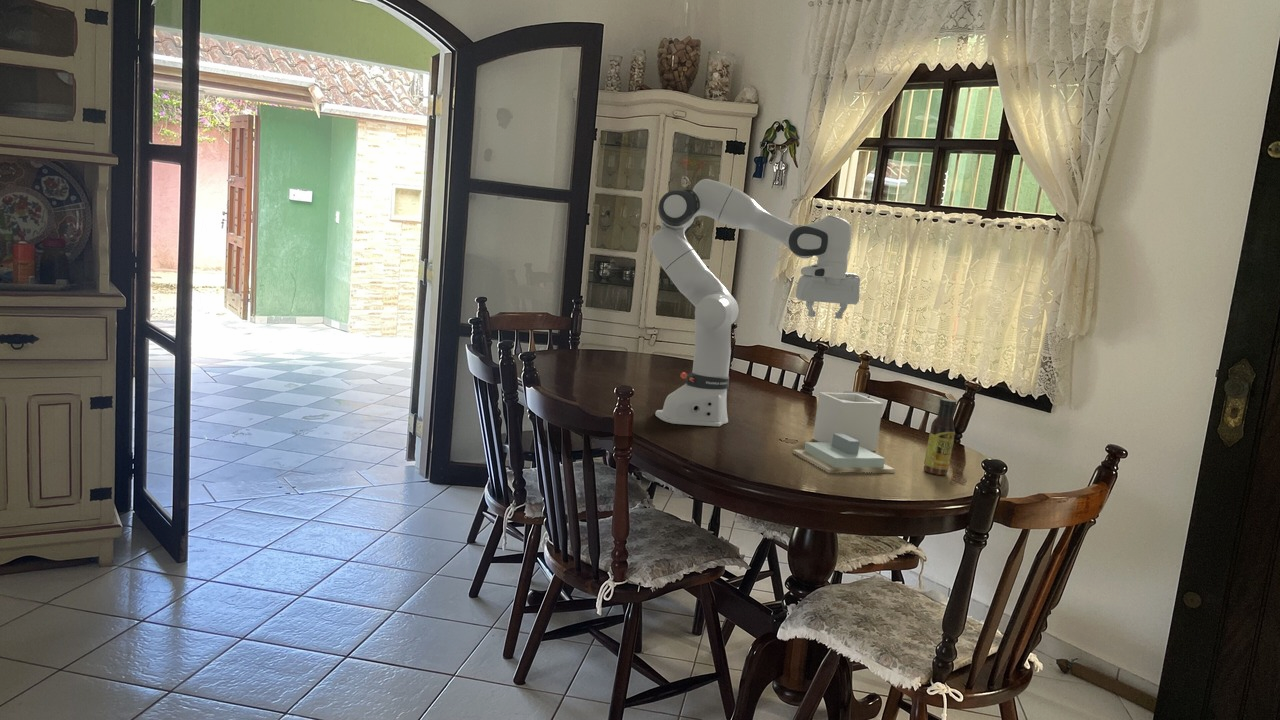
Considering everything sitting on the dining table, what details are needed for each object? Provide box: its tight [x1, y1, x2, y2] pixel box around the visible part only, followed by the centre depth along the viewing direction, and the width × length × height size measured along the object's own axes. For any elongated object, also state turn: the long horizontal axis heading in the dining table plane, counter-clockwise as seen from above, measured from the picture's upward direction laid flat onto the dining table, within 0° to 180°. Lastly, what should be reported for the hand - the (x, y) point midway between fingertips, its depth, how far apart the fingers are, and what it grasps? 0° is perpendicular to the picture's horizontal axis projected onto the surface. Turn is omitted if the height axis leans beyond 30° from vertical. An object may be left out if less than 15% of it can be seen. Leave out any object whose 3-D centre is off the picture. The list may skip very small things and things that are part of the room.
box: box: [812, 391, 884, 452], centre depth 246 cm, size 13×13×14 cm
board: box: [792, 449, 896, 474], centre depth 226 cm, size 20×18×1 cm
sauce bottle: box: [923, 398, 957, 476], centre depth 224 cm, size 6×6×20 cm
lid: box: [803, 433, 886, 468], centre depth 225 cm, size 15×15×6 cm
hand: (825, 317), depth 255 cm, fingers open, 8 cm apart
